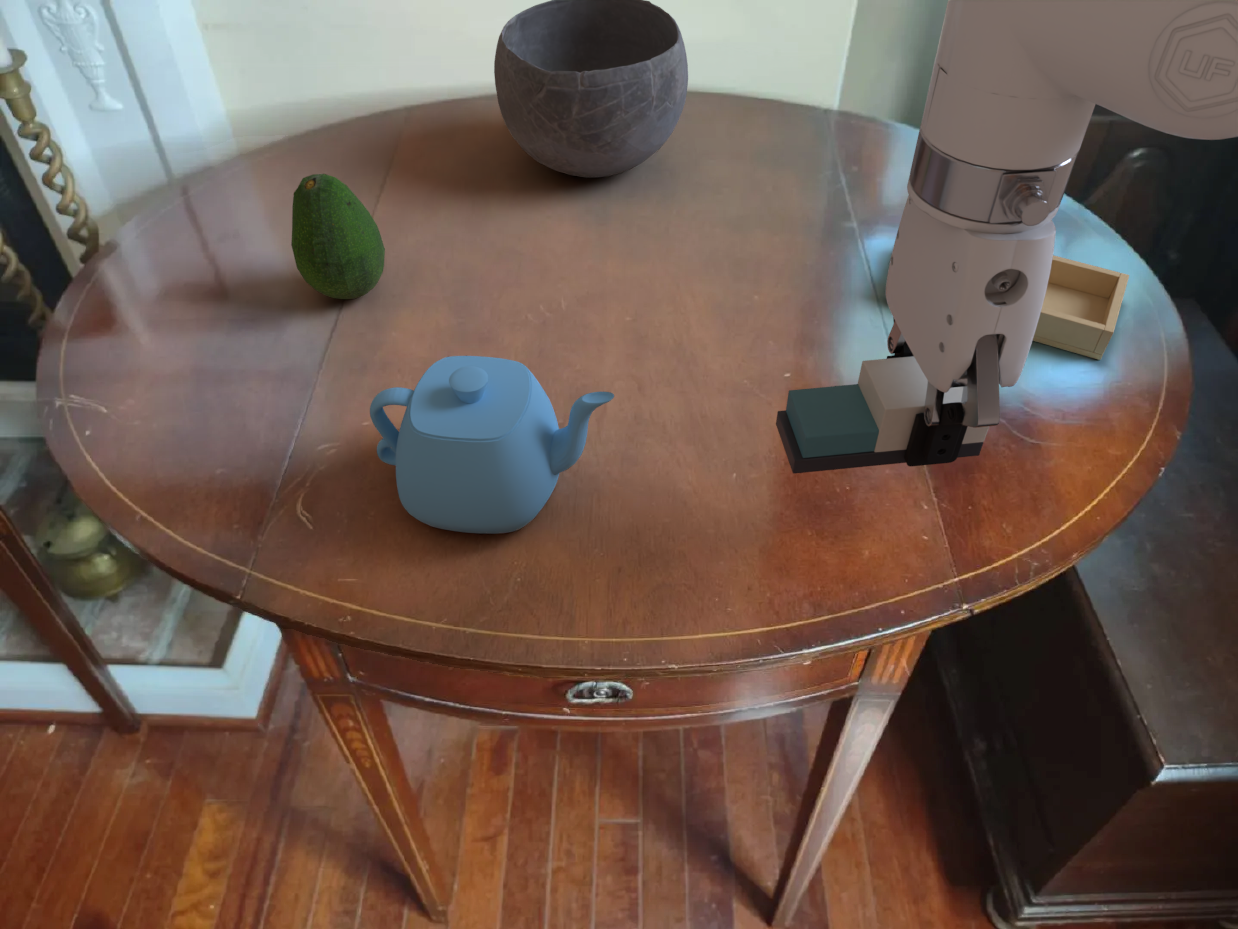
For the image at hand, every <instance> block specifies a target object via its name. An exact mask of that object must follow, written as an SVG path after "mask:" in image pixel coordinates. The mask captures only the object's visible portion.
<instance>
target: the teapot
mask: <svg viewBox="0 0 1238 929" xmlns="http://www.w3.org/2000/svg"><path fill="white" fill-rule="evenodd" d="M413 389H414V390H413ZM413 389H411V388H407V387H401V386H400V387H399V386H395V387H389V388H386V389H383V390H381V391H379V392H378V393H377V394H376V395H375V396H374V397H373V399H372V401H371V403H370V407H369V416H370V419H371V422H372V424H373V426H374V427H375V429H376V431H377V433H378V434H379V435H380V436H381V437H382V438H381V439H380V440H379V441H378V442H377V445H376V454H377V457H378V459H379V460H380V461H381V462H383V463H385V464H388V465H390V466H395V480H396V487H397V488H396V489H397V494H398V498H399V500H400V504H401V506H402V507H403V508H404V510H405V511H406V512H407V513H408V514H409V515H410V516H412V517H413V518H414V519H415V520H418V521H420V522H421V523H423V524H425V525H428V526H429V527H433V528H436V529H440V530H446V531H452V532H458V533H467V534H487V535H488V534H489V535H491V534H492V535H493V534H494V535H495V534H507V533H512V532H516V531H519V530H521V529H522V528H524V527H525V526H527V525H528V524H529V523H531V522H532V521H533V520H534V519H535V518H536V517H537V516H538V514H540V512H541V510H542V509H543V508H544V507H545V505H546V504H547V502H548V500H550V498H551V495H552V494H553V492H554V490H555V488H556V485H557V483H558V481H559V477H560V474H561V473H563V472H565V471H567V470H569V469H571V467H573V466H574V465H576V463H577V462H578V460H579V459H580V458H581V456H582V454H583V453H584V449H585V446H586V443H587V438H588V432H589V431H588V430H589V422H590V418H591V416H592V414H593V413H594V411H595V410H596V409H597V408H600V407H601V406H603V405H605V404H607V403H610V402H611V401H612V400H613V399H614V398H615V394H614V393H613V392H611V391H592V392H589V393H584V394H583V395H581V396H579V397H578V398H577V399H575V401H574V402H573V404H572V406H571V408H570V411H569V415H568V416H569V417H568V421H567V425H566V426H564V427H562V428H561V427H560V426H559V422H558V419H557V415H556V412H555V410H554V407H553V404H552V402H551V400H550V397H549V396H548V395H547V392H546V391H545V390H544V388H543V386H542V385H541V383H540V382H539V381H538V379H537V378H536V376H535V375H534V374H533V372H532V371H531V370H530V369H529V368H528V367H527V366H526V365H525V364H523V363H522V362H519V361H518V360H512V359H508V358H502V357H492V356H482V355H481V356H480V355H452V356H445V357H443V358H441V359H439V360H437V361H435V362H434V363H432V364H431V365H430V366H429V367H428V368H427V369H426V370H425V372H424V373H423V374H422V376H421V377H420V378H419V380H418V382H417V384H416V385H415V388H413ZM386 406H400V407H406V408H405V411H404V414H403V417H402V419H401V423H400V427H399V429H397V427H396V426H395V424H394V423H393V422H392V421H391V419H390V418H389V416H388V415H387V414H386V411H385V409H384V407H386Z"/></svg>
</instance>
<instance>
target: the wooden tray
mask: <svg viewBox="0 0 1238 929" xmlns="http://www.w3.org/2000/svg"><path fill="white" fill-rule="evenodd" d="M1129 279H1130V274H1127V273H1124V272H1120V271H1116V270H1111V269H1108V268H1104V267H1102V266H1101V267H1100V266H1097V265H1093V264H1090V263H1086V262H1081V261H1077V260H1073V259H1069V258H1067V257H1063V256H1058V255H1054V254H1053V258H1052V264H1051V270H1050V275H1049V280H1048V285H1047V289H1046V294H1045V298H1044V301H1043V305H1042V309H1041V313H1040V316H1039V320H1038V323H1037V327H1036V330H1035V334H1034V337H1033V340H1032V342H1036V343H1039V344H1042V345H1046V346H1050V347H1054V348H1056V349H1059V350H1063V351H1067V352H1070V353H1074V354H1077V355H1081V356H1083V357H1088V358H1091V359H1095V360H1099V361H1101V360H1102V358H1103V357H1104V356H1103V355H1104V354H1105V352H1106V350H1107V347H1108V346H1109V342H1110V341H1111V339H1112V337H1113V335H1114V332H1115V330H1116V325H1117V322H1118V318H1119V315H1120V310H1121V307H1122V303H1123V301H1124V297H1125V293H1126V290H1127V286H1128V282H1129Z"/></svg>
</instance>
